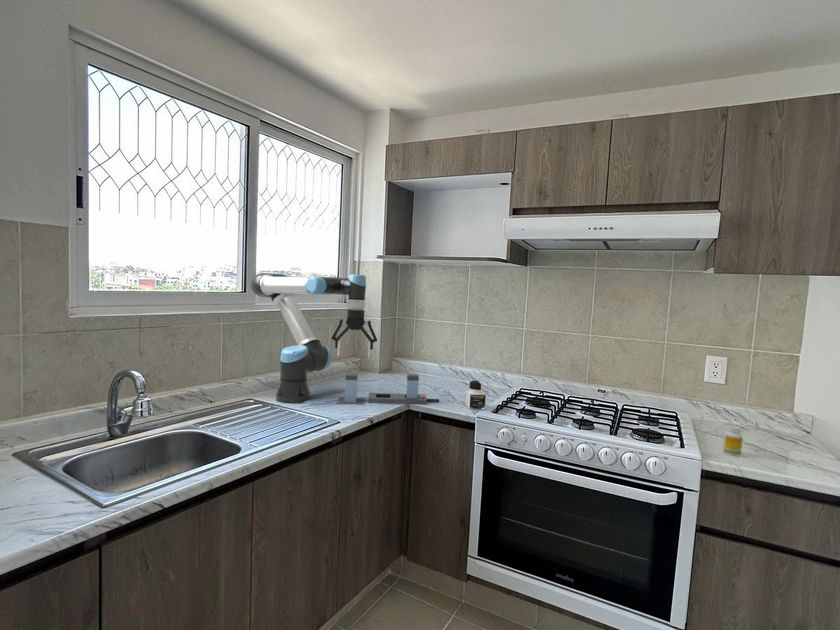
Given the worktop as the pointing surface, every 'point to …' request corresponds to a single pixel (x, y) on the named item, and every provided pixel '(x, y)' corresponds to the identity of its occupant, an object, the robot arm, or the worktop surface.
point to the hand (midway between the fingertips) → (353, 356)
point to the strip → (398, 399)
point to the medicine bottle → (475, 395)
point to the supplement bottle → (732, 441)
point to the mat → (358, 402)
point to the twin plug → (412, 386)
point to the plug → (351, 387)
